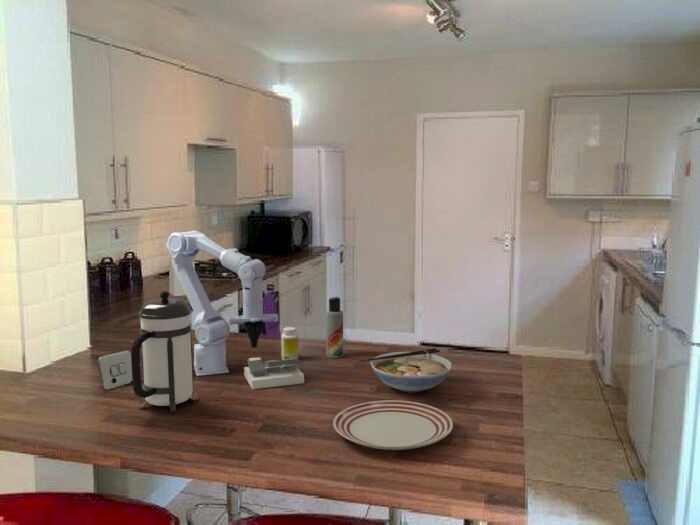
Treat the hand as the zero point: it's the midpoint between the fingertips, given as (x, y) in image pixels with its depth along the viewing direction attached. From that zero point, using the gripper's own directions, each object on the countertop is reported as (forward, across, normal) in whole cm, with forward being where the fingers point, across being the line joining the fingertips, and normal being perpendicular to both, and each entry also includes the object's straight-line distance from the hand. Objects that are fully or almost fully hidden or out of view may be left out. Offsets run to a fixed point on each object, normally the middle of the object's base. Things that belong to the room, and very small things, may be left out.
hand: (253, 346), depth 170 cm
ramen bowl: (+10, +40, -24) cm, 47 cm away
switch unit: (+9, +5, -3) cm, 11 cm away
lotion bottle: (+10, +30, +13) cm, 33 cm away
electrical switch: (+10, -38, +8) cm, 40 cm away
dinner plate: (+10, +22, -49) cm, 55 cm away
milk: (+10, -10, +149) cm, 149 cm away
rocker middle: (+6, +5, -3) cm, 8 cm away
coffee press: (+10, -26, -14) cm, 31 cm away
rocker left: (+6, 0, -3) cm, 7 cm away
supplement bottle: (+10, +14, +15) cm, 23 cm away
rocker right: (+6, +10, -3) cm, 12 cm away
